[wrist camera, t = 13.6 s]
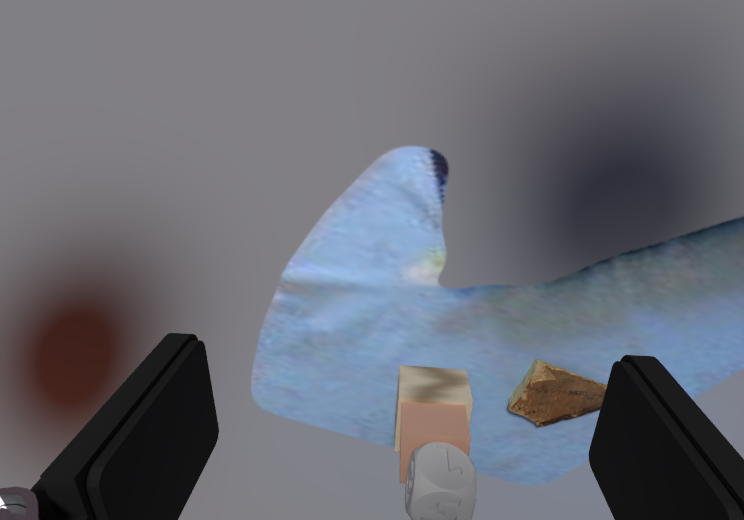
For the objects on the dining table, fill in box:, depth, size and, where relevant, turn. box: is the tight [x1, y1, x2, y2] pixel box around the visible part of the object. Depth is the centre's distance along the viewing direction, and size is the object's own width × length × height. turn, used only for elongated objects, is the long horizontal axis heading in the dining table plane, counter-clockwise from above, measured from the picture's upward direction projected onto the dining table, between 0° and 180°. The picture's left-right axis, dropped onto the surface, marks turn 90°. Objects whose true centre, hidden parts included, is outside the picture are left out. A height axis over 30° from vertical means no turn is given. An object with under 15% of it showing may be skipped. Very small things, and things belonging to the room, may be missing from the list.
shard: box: [508, 359, 607, 427], centre depth 47 cm, size 11×8×2 cm
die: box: [405, 442, 476, 520], centre depth 38 cm, size 5×5×5 cm
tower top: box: [400, 402, 471, 483], centre depth 42 cm, size 6×6×4 cm
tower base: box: [394, 365, 473, 452], centre depth 46 cm, size 7×7×5 cm
